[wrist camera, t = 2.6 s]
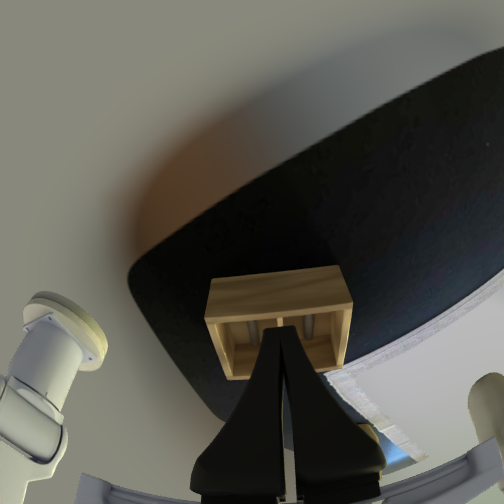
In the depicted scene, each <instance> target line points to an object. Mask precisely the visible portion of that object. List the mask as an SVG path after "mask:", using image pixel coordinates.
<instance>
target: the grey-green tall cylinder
mask: <svg viewBox="0 0 504 504" xmlns="http://www.w3.org/2000/svg"><path fill="white" fill-rule="evenodd" d="M468 409H469V413H470V416H471V419H472V421H473V424H474V427H475V430H476V433H477V436H478V440H479V443H480V444H481V443H482V442H484V441H486V440H488V439H489V438H491V437H493V436H495V438H496V441H497V444H498V447H499V451H500V454H501V457H502V461H503V464H504V376H503V375H502V374H499V373H495V372H494V373H489V374H487V375H485V376H483V377H482V378H480V379H479V380H477V381H476V383H475V384H474V385H473V386H472V388H471V390H470V393H469V397H468ZM497 483H498V486H499V489H500V490H501V492H503V493H504V478H503V479H502V480H500V481H499V482H497Z"/></svg>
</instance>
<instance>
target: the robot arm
mask: <svg viewBox="0 0 504 504" xmlns="http://www.w3.org/2000/svg"><path fill="white" fill-rule="evenodd" d="M22 329H23V330H24V332H25V333H26V336H25V337H24V339H23V341H22V342H21V344H20V345H19V347H18V349H17V351H16V352H15V354H14V356H13V358H12V359H11V361H10V363H9V365H8V370H7V371H8V372H7V376H6V377H4V376H3V375H0V435H1V436H2V437H4V438H5V439H6V440H8V441H9V442H11V443H12V444H14V445H15V446H17V447H18V448H20V449H21V450H23V451H24V452H26V453H28V454H29V455H31V456H32V458H28V457H26V456H23V455H22V454H20V453H19V452H17V451H16V450H14V449H12V448H11V447H10V446H8V445H6V444H5V443H4V442H2V441H1V440H0V504H23V501H24V496H25V492H26V488H27V484H28V482H30V481H34V480H41V479H47V478H51V477H52V475H53V473H54V471H55V468H56V466H57V464H58V462H59V461H60V459H61V458H62V457H63V455H64V453H65V450H66V447H67V442H68V434H67V430H66V426H65V424H64V423H63V419H64V416H63V415H62V414H60V412H61V409H62V406H63V404H64V401H65V399H66V396H67V394H68V391H69V389H70V386H71V384H72V382H73V379H74V377H75V375H76V372H77V370H78V368H79V366H80V364H81V363H86V362H91V361H96V360H97V356H96V355H95V354H94V353H93V352H92V351H91V350H89V349H88V348H87V347H86V346H85V345H84V344H83V343H82V342H81V341H80V340H79V339H78V338H77V337H76V336H75V335H74V334H73V333H72V332H71V331H70V330H69V329H68V328H67V327H66V326H65V325H64V323H63V322H62V321H61V320H60V319H59V318H58V317H57V316H56V315H55V314H54V313H53V312H50V313H48V314H46V315H44V316H42V317H40V318H38V319H36V320H34V321H32V322H30V323H28V324H26V325H24V326H23V328H22ZM284 379H285V384H286V390H287V396H288V401H289V407H290V412H291V419H292V429H293V443H294V459H295V474H296V475H295V476H296V494H297V503H286V504H368V503H372V502H376V501H379V500H383V499H385V500H384V501H383V502H382V504H465V503H467V502H468V501H470V500H472V499H473V498H475V497H476V496H478V495H479V494H481V493H482V492H484V491H485V490H487V489H488V488H490V487H491V486H493V485H494V484H496V483H497V482H499V481H500V480H502V479H503V478H504V464H503V461H502V457H501V454H500V451H499V447H498V444H497V441H496V438H495V436H493V437H491V438H489V439H488V440H486V441H484V442H482V443H481V444H479V445H477V446H476V447H474V448H472V449H471V450H469V451H468V452H467V453H466V454H464V455H462V456H460V457H458V458H456V459H454V460H452V461H449V462H447V463H445V464H443V465H441V466H438V467H436V468H434V469H431V470H429V471H426V472H424V473H421V474H419V475H416V476H413V477H410V478H408V479H405V480H402V481H399V482H396V483H392V484H389V485H386V486H383V487H379V480H380V474H379V472H380V471H381V470H382V469H384V468H385V466H386V465H387V463H386V459H385V456H384V453H383V451H382V449H381V448H380V446H379V444H378V443H377V442H376V441H375V440H374V439H373V438H371V437H370V436H369V435H368V434H367V433H366V432H365V431H364V430H363V429H362V428H361V427H360V426H358V425H357V424H356V423H355V422H354V421H353V419H352V418H351V417H350V416H349V415H348V414H347V413H346V412H345V411H344V409H343V408H342V407H341V406H340V405H339V404H338V402H337V401H336V400H335V399H334V397H333V396H332V395H331V393H330V392H329V391H328V389H327V388H326V386H325V385H324V383H323V382H322V380H321V379H320V377H319V376H318V374H317V372H316V371H315V369H314V367H313V366H312V364H311V362H310V360H309V358H308V356H307V354H306V352H305V350H304V348H303V346H302V344H301V341H300V339H299V336H298V333H297V330H296V327H295V326H294V325H290V326H281V327H271V328H265V329H264V330H263V335H262V341H261V346H260V350H259V353H258V357H257V360H256V363H255V366H254V369H253V371H252V374H251V376H250V379H249V381H248V383H247V386H246V388H245V390H244V392H243V394H242V396H241V398H240V400H239V402H238V404H237V406H236V407H235V409H234V411H233V412H232V414H231V416H230V417H229V419H228V420H227V422H226V423H225V425H224V426H223V428H222V429H221V430H220V432H219V433H218V435H217V436H216V437H215V439H214V440H213V441H212V442H211V443H210V445H209V446H208V447H207V448H206V449H205V451H204V452H203V453H202V454H201V455H200V456H199V457H198V458H197V460H196V462H195V465H194V468H193V471H192V474H191V481H190V489H191V491H193V492H195V493H197V494H200V495H201V502H195V501H187V500H180V499H173V498H167V497H161V496H157V495H152V494H147V493H143V492H138V491H134V490H130V489H126V488H123V487H120V486H116V485H113V484H111V483H109V482H107V481H104V480H102V479H99V478H96V477H93V476H90V475H88V474H85V473H81V476H80V480H79V485H78V489H77V493H76V499H75V503H74V504H280V502H284V501H286V499H285V495H286V494H287V493H286V475H285V458H284V440H283V386H284Z"/></svg>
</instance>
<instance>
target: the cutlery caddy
mask: <svg viewBox="0 0 504 504" xmlns="http://www.w3.org/2000/svg"><path fill="white" fill-rule="evenodd" d="M352 307H353V301H352V298H351V296H350V293H349V290H348V288H347V285H346V283H345V280H344V278H343V275H342V273H341V271H340V268H339V266H338V265H333V266H325V267H317V268H308V269H299V270H291V271H282V272H273V273H263V274H254V275H244V276H234V277H224V278H214V279H212V281H211V286H210V291H209V296H208V301H207V306H206V312H205V317H204V319H205V321H206V324H207V327H208V330H209V332H210V335H211V338H212V341H213V343H214V346H215V349H216V351H217V354H218V357H219V359H220V362H221V364H222V367H223V370H224V372H225V375H226V377H227V380H241V379H250V376H251V374H252V371H253V369H254V366H255V363H256V360H257V357H258V353H259V350H260V346H261V341H262V335H263V330H264V329H265V328H271V327H281V326H290V325H294V326H295V327H296V330H297V333H298V336H299V339H300V341H301V344H302V346H303V348H304V350H305V352H306V354H307V356H308V358H309V360H310V362H311V364H312V366H313V367H314V369H315V371H316V372H323V371H330V370H336V369H342V367H343V362H344V357H345V351H346V346H347V340H348V334H349V327H350V321H351V314H352Z"/></svg>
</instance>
